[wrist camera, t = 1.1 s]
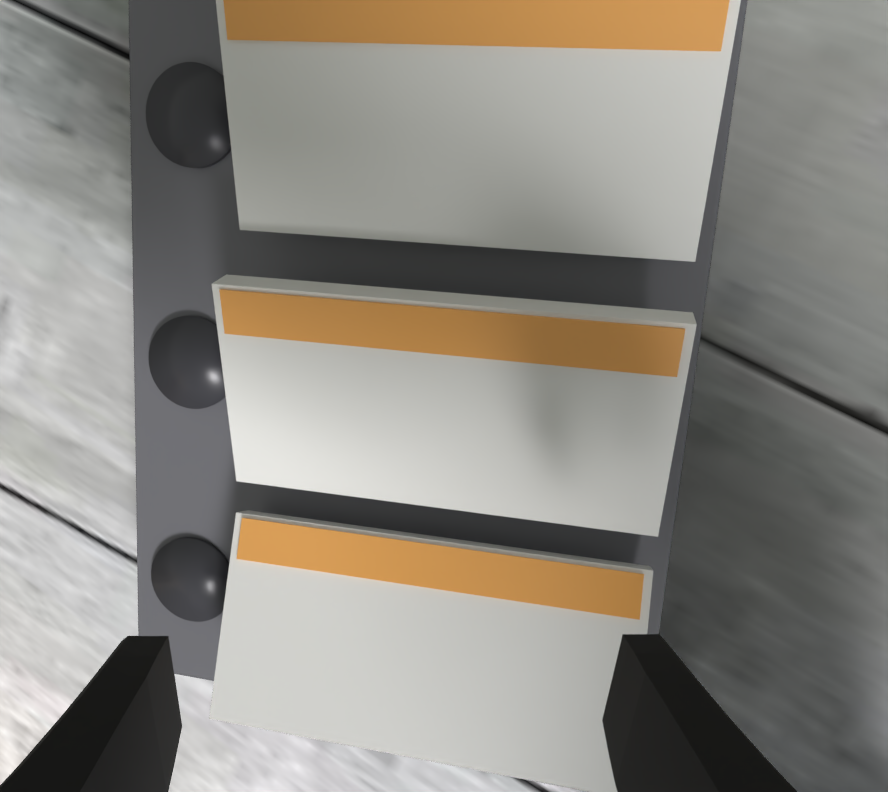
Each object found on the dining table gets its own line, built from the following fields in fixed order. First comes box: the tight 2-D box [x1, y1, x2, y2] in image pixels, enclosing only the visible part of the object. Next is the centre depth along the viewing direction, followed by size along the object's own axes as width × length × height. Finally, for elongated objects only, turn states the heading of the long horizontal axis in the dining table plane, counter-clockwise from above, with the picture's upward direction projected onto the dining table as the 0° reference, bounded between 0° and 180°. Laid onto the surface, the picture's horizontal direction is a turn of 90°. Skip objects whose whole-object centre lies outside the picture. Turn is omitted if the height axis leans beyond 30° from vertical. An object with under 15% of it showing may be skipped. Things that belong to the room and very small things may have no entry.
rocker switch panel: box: [129, 0, 747, 681], centre depth 19 cm, size 18×14×3 cm
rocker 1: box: [216, 0, 741, 262], centre depth 15 cm, size 5×10×1 cm, turn 86°
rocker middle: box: [212, 274, 697, 537], centre depth 16 cm, size 5×10×1 cm, turn 86°
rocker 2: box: [209, 510, 653, 792], centre depth 18 cm, size 5×10×1 cm, turn 86°
